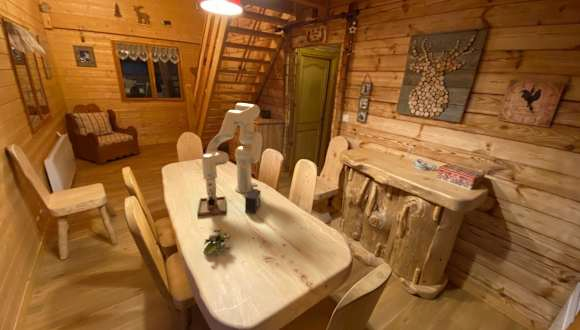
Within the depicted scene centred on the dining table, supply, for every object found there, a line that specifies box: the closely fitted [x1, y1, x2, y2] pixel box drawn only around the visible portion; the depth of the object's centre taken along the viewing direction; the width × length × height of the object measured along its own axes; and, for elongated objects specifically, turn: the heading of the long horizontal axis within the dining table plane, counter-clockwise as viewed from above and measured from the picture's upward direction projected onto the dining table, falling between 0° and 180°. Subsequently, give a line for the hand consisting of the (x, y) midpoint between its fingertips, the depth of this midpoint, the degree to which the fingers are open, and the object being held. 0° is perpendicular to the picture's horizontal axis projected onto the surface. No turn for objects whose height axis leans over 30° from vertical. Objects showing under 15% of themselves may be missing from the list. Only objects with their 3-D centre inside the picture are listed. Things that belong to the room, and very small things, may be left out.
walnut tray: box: [196, 196, 227, 217], centre depth 144 cm, size 16×18×2 cm
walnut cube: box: [206, 194, 218, 209], centre depth 143 cm, size 6×6×6 cm
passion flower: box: [203, 228, 231, 255], centre depth 109 cm, size 11×11×12 cm
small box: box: [244, 189, 262, 215], centre depth 143 cm, size 11×6×10 cm, turn 168°
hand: (212, 201), depth 143 cm, fingers open, 9 cm apart
